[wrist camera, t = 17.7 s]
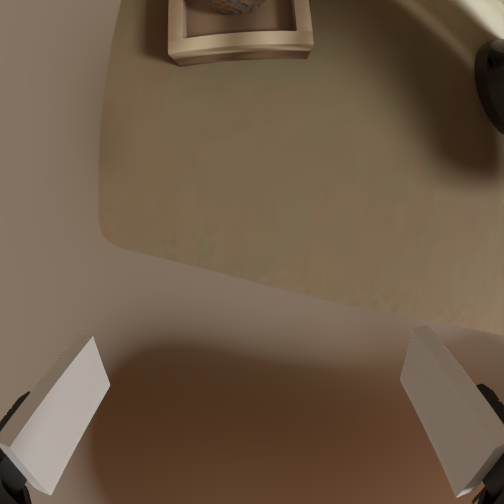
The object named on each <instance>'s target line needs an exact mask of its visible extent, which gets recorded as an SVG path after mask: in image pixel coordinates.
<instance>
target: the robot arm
mask: <svg viewBox="0 0 504 504" xmlns="http://www.w3.org/2000/svg"><path fill="white" fill-rule="evenodd" d="M475 78H476V84H477V88H478V92H479V95H480V98H481V101H482V103H483V106H484V108H485V110H486V112H487V114H488V116H489V117H490V119H491V121H492V122H493V123H494V125H495V126H496V127H497V128H498V129H499V131H500V132H502V133H503V134H504V39H498V40H494V41H491V42H489V43H486V44H484V45H483V46H482V47H481V48H480V50H479V51H478V54H477V57H476V61H475ZM400 381H401V383H402V385H403V387H404V389H405V391H406V393H407V394H408V396H409V398H410V400H411V402H412V404H413V406H414V408H415V410H416V412H417V414H418V416H419V418H420V420H421V422H422V424H423V426H424V428H425V430H426V432H427V434H428V437H429V439H430V441H431V443H432V445H433V447H434V449H435V451H436V454H437V456H438V458H439V460H440V462H441V464H442V466H443V469H444V471H445V473H446V476H447V478H448V480H449V482H450V485H451V487H452V490H453V492H454V494H455V496H456V497H459V496H461V495H464V494H466V493H468V492H470V491H473V490H474V489H475V488H476V487H477V486H478V485H479V484H480V483H481V481H483V483H484V485H485V487H484V488H483V489H482V490H481V492H479V494H478V495H477V496H476V497H475V498H474V499H473V501H472V503H473V504H474V503H475V502H476V501H477V500H478V499H479V501H478V504H504V405H503V404H502V403H501V402H500V400H499V398H498V397H497V396H496V394H495V393H494V392H493V390H491V389H490V388H488V387H487V386H485V385H484V384H479V385H475V384H474V383H473V381H472V380H471V379H470V377H469V376H468V375H467V374H466V372H465V371H464V370H463V368H462V367H461V366H460V364H459V363H458V362H457V361H456V359H455V358H454V357H453V356H452V354H451V353H450V352H449V351H448V349H447V348H446V347H445V346H444V344H443V343H442V342H441V341H440V339H439V338H438V337H437V336H436V335H435V333H434V332H433V331H432V330H431V329H430V327H428V326H422V327H415V328H412V332H411V337H410V341H409V346H408V350H407V354H406V358H405V362H404V366H403V370H402V373H401V378H400ZM109 386H110V383H109V381H108V378H107V375H106V373H105V370H104V367H103V365H102V362H101V359H100V356H99V353H98V350H97V347H96V344H95V341H94V338H93V336H85V335H78V337H77V338H76V339H75V340H74V341H73V342H72V343H71V345H70V346H69V347H68V348H67V349H66V350H65V351H64V353H63V354H62V355H61V356H60V357H59V358H58V360H57V361H56V362H55V363H54V364H53V366H52V367H51V368H50V369H49V371H48V372H47V373H46V374H45V375H44V376H43V378H42V379H41V380H40V381H39V382H38V384H37V385H36V386H35V388H34V389H33V390H32V391H31V392H27V393H26V394H24V395H23V396H21V397H20V398H19V399H18V400H17V401H16V402H15V404H14V405H13V406H12V409H10V410H9V411H8V413H7V415H5V416H4V418H3V419H2V420H1V422H0V504H32V503H31V499H30V495H29V491H28V489H27V487H26V486H25V483H26V481H27V480H28V481H29V482H30V483H31V484H32V485H33V487H34V488H35V489H37V490H40V491H42V492H44V493H46V494H49V495H52V492H53V491H54V489H55V486H56V484H57V482H58V480H59V478H60V477H61V475H62V473H63V471H64V468H65V467H66V465H67V463H68V461H69V459H70V457H71V455H72V453H73V451H74V450H75V448H76V446H77V444H78V442H79V440H80V438H81V437H82V434H83V433H84V431H85V429H86V427H87V426H88V424H89V422H90V420H91V418H92V416H93V414H94V413H95V411H96V409H97V408H98V406H99V404H100V402H101V401H102V399H103V397H104V395H105V393H106V392H107V390H108V388H109Z"/></svg>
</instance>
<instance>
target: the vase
mask: <svg viewBox="0 0 504 504" xmlns="http://www.w3.org/2000/svg"><path fill="white" fill-rule="evenodd" d="M205 1H206V2H207V3H208V4H209V5H210V6H211V7H212V8H214V9H216V10H217V11H219V12H222V13H225V14H231V15H240V14H245V13H249V12H251V11H253V10H255V9H257V8H258V7H260V6H261V5H262V4H263V3H264V2H265V1H266V0H205Z"/></svg>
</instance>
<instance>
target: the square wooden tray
mask: <svg viewBox="0 0 504 504" xmlns="http://www.w3.org/2000/svg"><path fill="white" fill-rule="evenodd" d="M313 45H314V41H313V32H312V23H311V14H310V6H309V0H266V1H265V2H264V3H263V4H262V5H261V6H260V7H258V8H257V9H255V10H253V11H251V12H249V13H245V14H240V15H231V14H225V13H222V12H219V11H217V10H216V9H214V8H212V7H211V6H210V5H209V4H208V3H207V2H206V1H205V0H169V9H168V55H169V56H170V57H171V58H172V59H173V60H174V61H175V62H176V63H177V64H178V65H179V66H180V67H182V66H189V65H196V64H204V63H214V62H224V61H236V60H253V59H307V57H308V55H309V53H310V51H311V49H312V47H313Z"/></svg>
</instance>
